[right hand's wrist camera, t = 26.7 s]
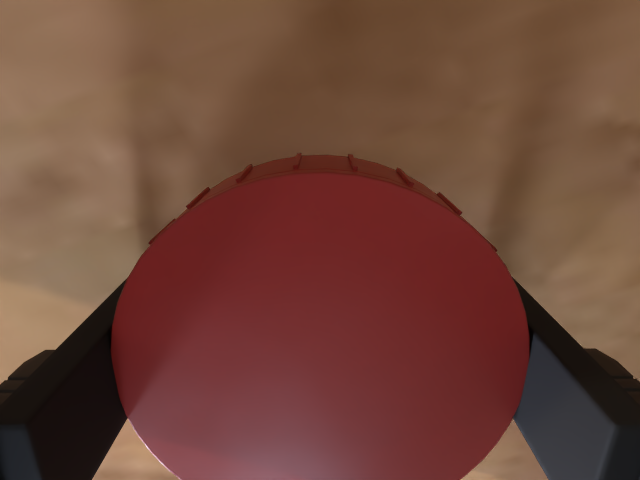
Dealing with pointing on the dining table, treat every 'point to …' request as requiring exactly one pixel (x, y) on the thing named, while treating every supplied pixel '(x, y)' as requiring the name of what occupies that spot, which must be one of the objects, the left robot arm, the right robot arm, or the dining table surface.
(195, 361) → the lid
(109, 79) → the dining table surface
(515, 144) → the dining table surface
